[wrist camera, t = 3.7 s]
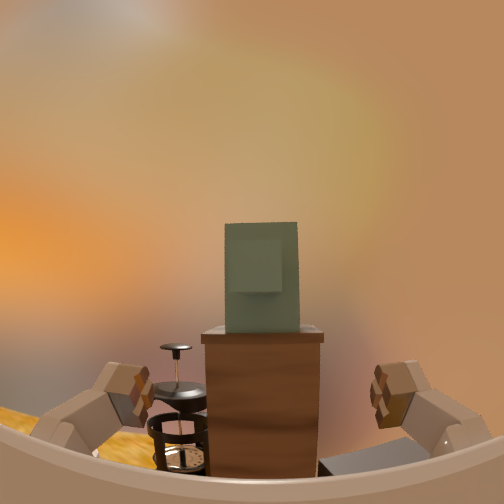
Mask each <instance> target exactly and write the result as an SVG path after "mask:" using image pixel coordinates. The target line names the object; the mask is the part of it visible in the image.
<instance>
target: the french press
mask: <svg viewBox="0 0 504 504" xmlns="http://www.w3.org/2000/svg"><path fill="white" fill-rule="evenodd" d="M160 348H161V349H165V350H172V353H173V359H175V372H176V382H162V383H156V384H153V387H154V400H155V399H157V400H161V401H163V402H165V403H167V404H168V405H170V406H171V407H173V408H174V409H176V410H177V411H178V412H172V413H164V414H159V415H156V416H153V417H151V418H150V419H149V420H148V421H147V431H148V434H149V436H150V437H152V438H153V439H154V446H155V453H154V455H153V461H154V462H155V464H156V465H157V468H156V469H155V470H159V471H165V472H172V473H179V474H187V475H196V476H207V477H211V470H210V456H209V439H208V420H207V413H206V412H199V411H202V410H204V409H206V408H207V399H206V385H204V384H200V383H193V382H179V378H178V360H179V359H180V350H188V349H192V346H189V345H186V344H165V345H162V346H160ZM196 412H199V413H197V414H196ZM175 420H178V423H179V435H172V434H165V433H162V422H166V421H175ZM181 420H186V421H194V428H195V429H194V430H195V433H194V434H187V435H182V428H181ZM152 426H153V429H152V428H151V427H152ZM165 443H169V444H180V445H175V446H169V447H165ZM192 443H195V444H196V446H190V445H183V444H192Z"/></svg>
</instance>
